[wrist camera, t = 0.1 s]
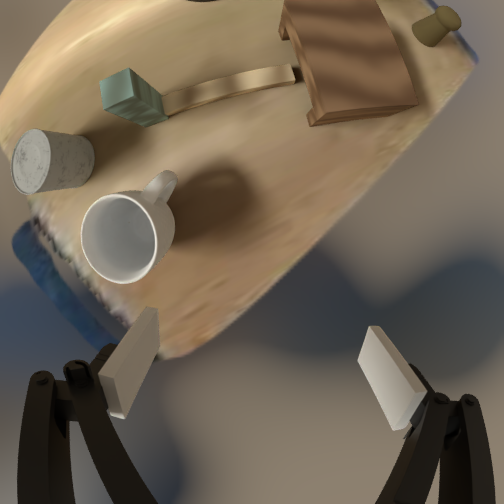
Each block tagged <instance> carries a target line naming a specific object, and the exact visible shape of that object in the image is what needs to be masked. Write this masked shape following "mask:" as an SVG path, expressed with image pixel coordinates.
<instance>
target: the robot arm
mask: <svg viewBox="0 0 504 504" xmlns="http://www.w3.org/2000/svg"><path fill="white" fill-rule="evenodd" d="M188 1H195V2H206V1H214V0H188ZM159 347H160V336H159V318H158V308H151V307H146V308H145V309H144V311H143V312H142V313H141V315H140V316H139V317H138V319H137V320H136V321H135V323H134V324H133V325H132V327H131V328H130V329H129V331H128V332H127V334H126V335H125V336H124V338H123V339H122V340H121V342H120V343H119V345H116V344H112V343H109V344H108V345H106V346H104V347H103V348H102V349H101V350H100V352H99V353H98V354H97V356H96V357H95V359H94V360H93V361H92V362H91V363H90V365H89V364H88V363H87V362H85V361H83V360H73V361H69V362H68V363H67V364H65V366H64V367H63V372H64V375H65V378H66V381H62V380H55V379H54V376H53V375H52V373H50V372H48V371H38V372H36V373H34V374H33V375H32V376H31V378H30V382H29V386H28V391H27V396H26V401H25V406H24V412H23V418H22V426H21V433H20V441H19V453H18V473H17V494H18V495H17V497H18V504H76V503H75V497H74V490H73V482H72V472H71V459H70V437H69V436H70V435H69V434H70V433H69V432H70V431H69V421H78V422H79V425H80V428H81V431H82V433H83V436H84V439H85V441H86V444H87V447H88V450H89V452H90V455H91V457H92V459H93V462H94V464H95V466H96V469H97V471H98V473H99V475H100V477H101V480H102V481H103V483H104V486H105V488H106V490H107V492H108V494H109V496H110V497H111V499H112V501H113V503H114V504H158V503H157V501H156V500H155V498H154V497H153V495H152V494H151V492H150V491H149V489H148V488H147V486H146V485H145V483H144V482H143V480H142V479H141V477H140V475H139V473H138V472H137V470H136V468H135V467H134V465H133V463H132V462H131V460H130V458H129V456H128V454H127V452H126V451H125V449H124V447H123V445H122V443H121V441H120V439H119V437H118V435H117V433H116V431H115V429H114V427H113V425H112V422H111V420H110V418H109V416H108V414H107V411H106V410H107V409H109V412H110V415H111V416H115V417H118V418H122V419H125V418H126V416H127V414H128V412H129V409H130V407H131V405H132V403H133V401H134V398H135V396H136V394H137V392H138V390H139V388H140V385H141V384H142V381H143V380H144V378H145V376H146V373H147V371H148V369H149V367H150V365H151V363H152V361H153V359H154V357H155V355H156V353H157V351H158V349H159ZM358 362H359V364H360V366H361V368H362V370H363V372H364V374H365V376H366V378H367V380H368V381H369V383H370V385H371V387H372V389H373V391H374V393H375V395H376V397H377V399H378V401H379V403H380V405H381V407H382V409H383V411H384V413H385V415H386V417H387V419H388V421H389V423H390V426H391V428H392V430H393V431H394V430H399V429H404V428H405V427H406V425H407V424H408V422H409V421H410V422H411V424H412V427H411V428H410V430H409V431H408V432H407V434H406V435H405V437H404V439H405V438H406V440H405V442H404V445H403V447H402V450H401V452H400V455H399V457H398V459H397V461H396V463H395V466H394V468H393V470H392V472H391V474H390V476H389V478H388V480H387V482H386V484H385V486H384V488H383V490H382V492H381V494H380V495H379V497H378V499H377V501H376V503H375V504H425V502H426V499H427V496H428V494H429V491H430V488H431V485H432V482H433V479H434V476H435V472H436V469H437V466H438V462H439V458H440V481H439V499H438V500H439V501H438V504H496V502H495V486H494V475H493V467H492V460H491V454H490V448H489V442H488V437H487V433H486V428H485V423H484V419H483V416H482V411H481V408H480V404H479V401H478V399H477V398H476V397H475V396H473V395H470V394H464V395H463V396H462V397H461V399H460V400H459V401H450V399H449V398H448V397H447V396H446V395H445V394H442V393H439V392H437V393H435V391H434V390H433V389H432V387H431V386H430V385H429V383H428V382H427V381H426V379H424V377H423V375H421V372H420V371H419V370H418V369H417V368H416V367H415V366H414V365H412V364H408V363H407V362H406V361H405V359H404V358H403V357H402V355H401V354H400V353H399V351H398V350H397V349H396V347H395V346H394V345H393V343H392V342H391V341H390V340H389V338H388V337H387V336H386V334H385V333H384V332H383V330H382V329H381V328H380V327H379V326H369V328H368V331H367V334H366V337H365V340H364V343H363V346H362V349H361V352H360V355H359V358H358Z"/></svg>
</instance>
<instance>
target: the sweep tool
mask: <svg viewBox="0 0 504 504" xmlns="http://www.w3.org/2000/svg"><path fill="white" fill-rule="evenodd" d="M294 82H295V77H294V74H293V71H292V68H291V65H290V64H285V65H279V66H273V67H267V68H262V69H257V70H252V71H247V72H243V73H238V74H234V75H230V76H226V77H222V78H218V79H215V80H211V81H208V82H204V83H201V84H197V85H194V86H191V87H188V88H185V89H182V90H179V91H176V92H173V93H170V94H167V95H165V96H162V95H161V94H160V93H159V92H157V91H156V90H155V89H154V88H153V87H152V86H150V85H149V84H148V83H147V82H146V81H145V80H143V79H142V78H141V77H140V76H139V75H137V74H136V73H135V72H134V71H133V70H131V69H130V68H127V69H124V70H122V71H120V72H118V73H116V74H114V75H112V76H110V77H108V78H106V79H104V80H102V81H100V89H101V96H102V103H103V109H104V110H105V111H108V112H110V113H113V114H115V115H118V116H120V117H123V118H125V119H127V120H130V121H132V122H135V123H137V124H139V125H142V126H144V127H148V126H151V125H153V124H156V123H159V122H161V121H164V120H167V119H169V117H168V116H170V115H173V114H175V113H178V112H181V111H184V110H187V109H191V108H194V107H197V106H200V105H203V104H207V103H210V102H214V101H217V100H221V99H225V98H229V97H233V96H237V95H241V94H245V93H249V92H254V91H258V90H263V89H268V88H273V87H279V86H284V85H290V84H294Z"/></svg>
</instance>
